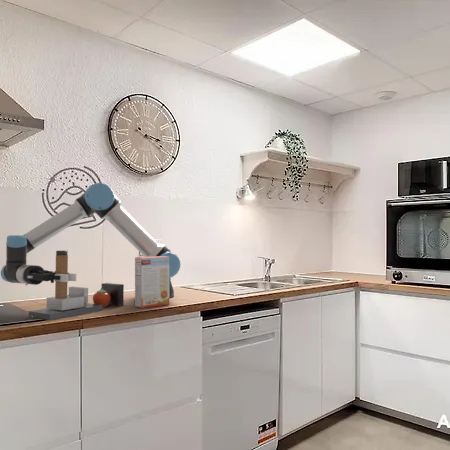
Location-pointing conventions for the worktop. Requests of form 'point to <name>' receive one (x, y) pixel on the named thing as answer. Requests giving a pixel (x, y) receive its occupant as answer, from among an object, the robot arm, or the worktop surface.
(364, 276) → the worktop surface
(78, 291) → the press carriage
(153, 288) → the cracker box
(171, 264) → the robot arm
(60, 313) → the press bench
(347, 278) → the worktop surface
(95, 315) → the worktop surface
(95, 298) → the tomato
